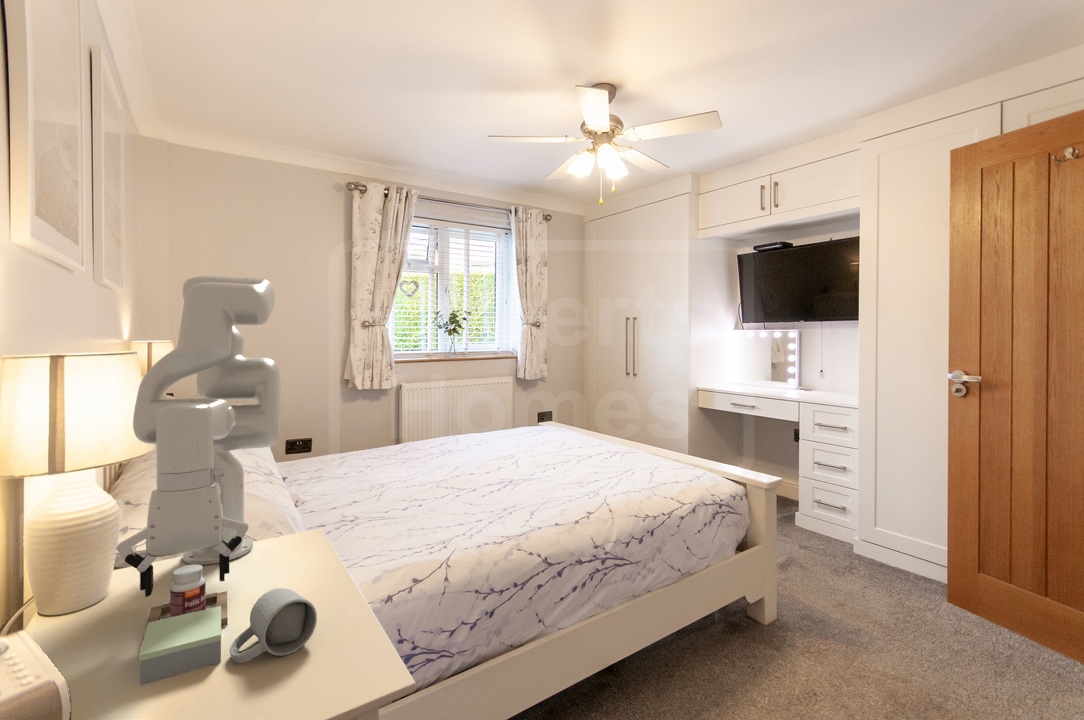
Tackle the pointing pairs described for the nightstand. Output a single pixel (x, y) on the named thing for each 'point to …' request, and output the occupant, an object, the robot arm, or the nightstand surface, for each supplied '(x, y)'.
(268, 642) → the ceramic mug
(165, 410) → the robot arm
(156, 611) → the base
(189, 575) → the pill bottle
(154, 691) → the nightstand surface
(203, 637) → the green square block
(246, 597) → the nightstand surface
